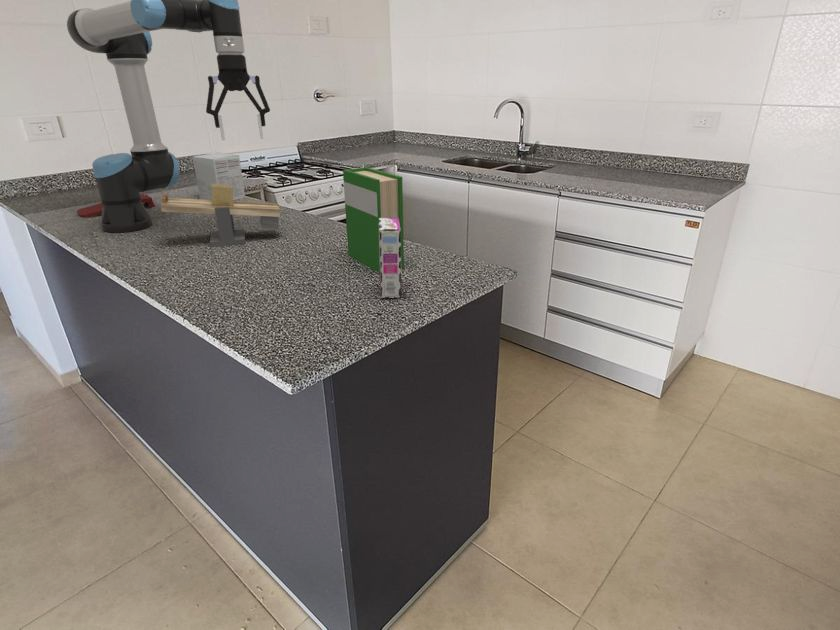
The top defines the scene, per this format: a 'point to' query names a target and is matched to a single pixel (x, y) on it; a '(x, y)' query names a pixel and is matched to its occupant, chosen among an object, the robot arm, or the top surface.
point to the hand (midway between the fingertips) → (242, 139)
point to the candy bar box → (390, 257)
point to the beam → (264, 210)
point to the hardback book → (370, 211)
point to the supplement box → (218, 173)
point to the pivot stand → (226, 230)
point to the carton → (97, 208)
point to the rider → (222, 195)
